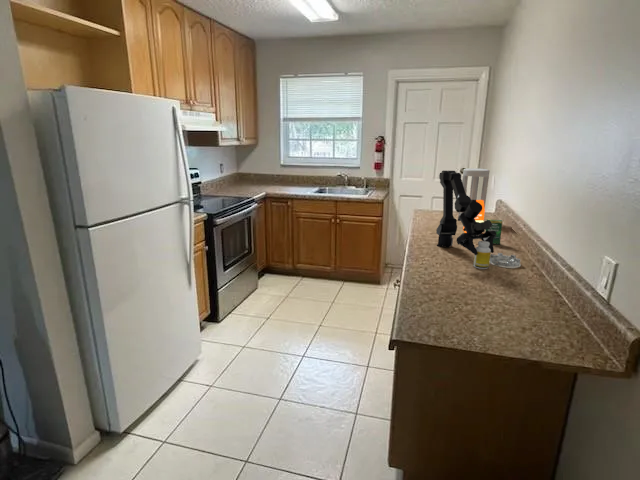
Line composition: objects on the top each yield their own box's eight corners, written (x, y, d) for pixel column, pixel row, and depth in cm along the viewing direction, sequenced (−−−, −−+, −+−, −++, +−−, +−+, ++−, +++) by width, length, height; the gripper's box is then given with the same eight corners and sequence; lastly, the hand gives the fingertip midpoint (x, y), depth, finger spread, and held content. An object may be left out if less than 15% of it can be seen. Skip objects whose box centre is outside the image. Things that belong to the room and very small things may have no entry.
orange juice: (481, 234, 230) (486, 201, 224) (466, 234, 230) (470, 200, 225) (477, 231, 237) (481, 198, 232) (462, 231, 238) (466, 198, 232)
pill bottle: (489, 270, 170) (493, 244, 167) (474, 269, 171) (477, 243, 168) (486, 265, 176) (490, 240, 173) (471, 264, 177) (474, 239, 174)
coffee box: (483, 243, 212) (486, 219, 209) (483, 241, 215) (486, 218, 211) (499, 244, 209) (503, 221, 205) (499, 243, 212) (503, 220, 208)
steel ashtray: (485, 264, 177) (486, 258, 176) (491, 256, 188) (492, 250, 188) (518, 270, 170) (519, 263, 169) (522, 262, 181) (523, 255, 181)
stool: (453, 219, 269) (459, 168, 259) (472, 218, 273) (478, 168, 264) (467, 224, 254) (474, 170, 245) (487, 223, 259) (494, 170, 250)
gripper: (463, 215, 167) (479, 246, 161) (496, 212, 174) (513, 242, 168) (449, 229, 177) (464, 259, 170) (481, 225, 184) (496, 254, 177)
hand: (484, 253), depth 171 cm, fingers open, 9 cm apart
